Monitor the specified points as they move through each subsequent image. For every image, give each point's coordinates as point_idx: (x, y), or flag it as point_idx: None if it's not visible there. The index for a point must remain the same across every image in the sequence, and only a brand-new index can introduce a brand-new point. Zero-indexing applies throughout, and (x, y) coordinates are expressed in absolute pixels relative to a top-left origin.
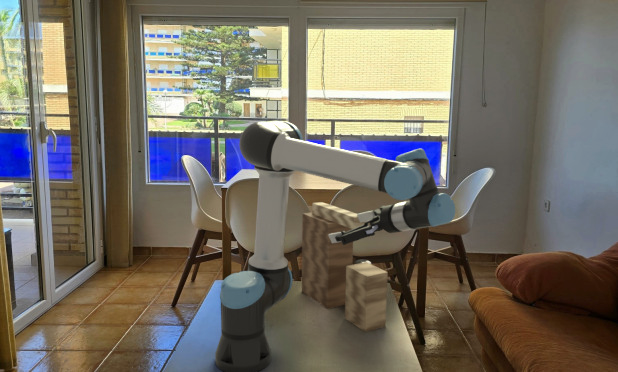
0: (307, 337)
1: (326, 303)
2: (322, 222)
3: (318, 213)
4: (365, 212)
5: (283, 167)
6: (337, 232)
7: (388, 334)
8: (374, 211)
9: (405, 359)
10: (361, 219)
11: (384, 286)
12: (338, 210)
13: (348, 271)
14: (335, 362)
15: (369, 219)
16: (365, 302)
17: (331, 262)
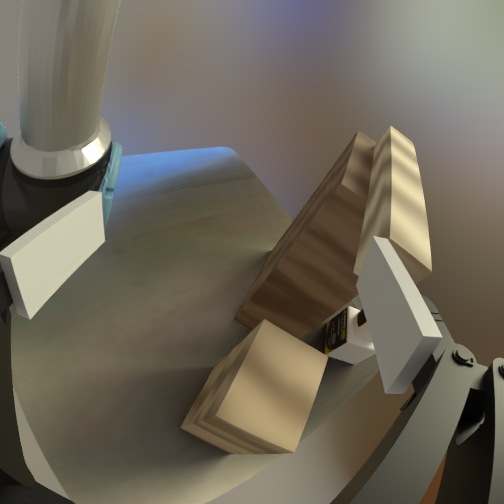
0: (98, 327)
1: (239, 310)
2: (345, 168)
3: (377, 152)
4: (402, 283)
5: None
6: (56, 220)
7: (198, 472)
8: (443, 348)
9: None
10: (366, 283)
11: (263, 450)
12: (402, 176)
13: (253, 334)
14: (34, 406)
15: (377, 341)
16: (195, 420)
17: (287, 268)
